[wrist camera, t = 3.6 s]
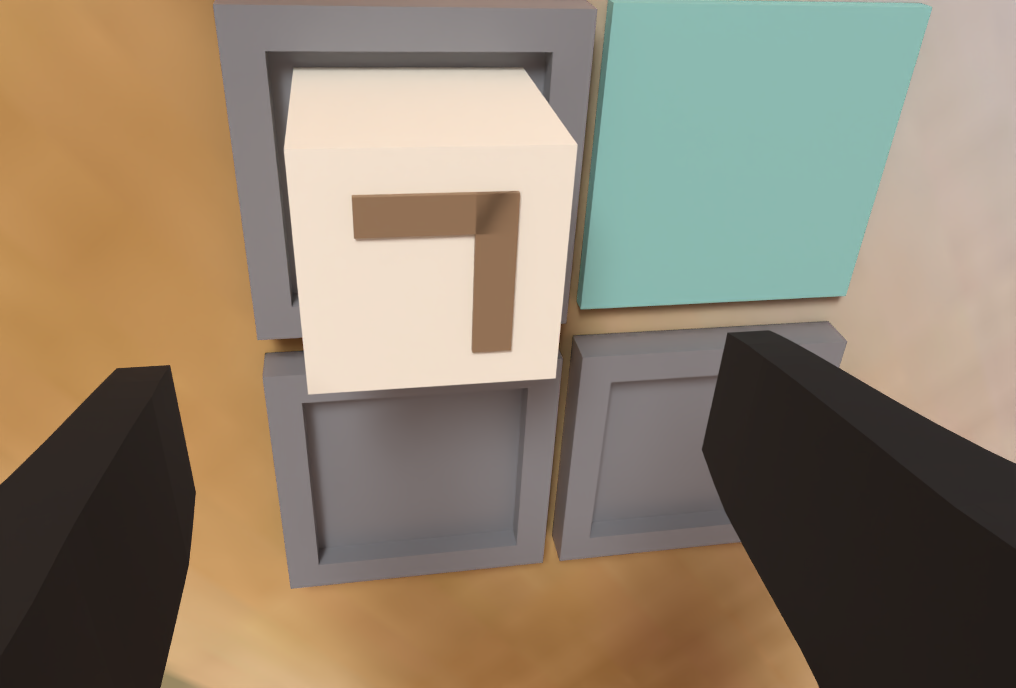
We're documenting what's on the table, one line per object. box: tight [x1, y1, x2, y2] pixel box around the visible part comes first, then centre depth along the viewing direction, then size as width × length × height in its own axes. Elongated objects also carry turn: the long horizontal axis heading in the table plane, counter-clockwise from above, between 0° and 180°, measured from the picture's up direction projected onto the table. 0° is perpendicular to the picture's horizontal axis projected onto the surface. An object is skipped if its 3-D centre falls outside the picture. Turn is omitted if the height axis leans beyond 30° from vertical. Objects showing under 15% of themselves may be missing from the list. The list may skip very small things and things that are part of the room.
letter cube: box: [284, 67, 578, 394], centre depth 16 cm, size 4×4×5 cm
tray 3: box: [552, 321, 847, 561], centre depth 23 cm, size 7×7×1 cm
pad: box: [577, 0, 932, 309], centre depth 19 cm, size 7×7×1 cm
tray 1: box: [213, 0, 597, 340], centre depth 18 cm, size 7×7×1 cm
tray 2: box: [263, 348, 563, 589], centre depth 22 cm, size 7×7×1 cm
